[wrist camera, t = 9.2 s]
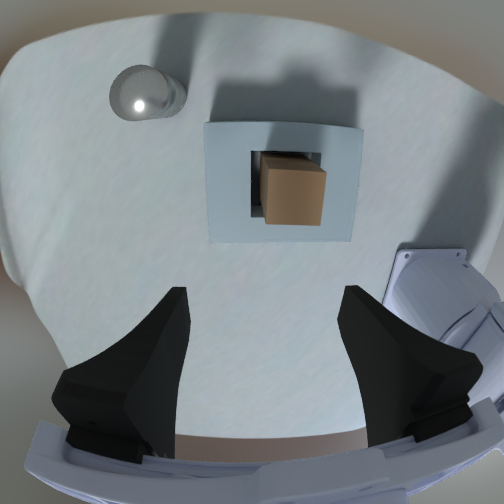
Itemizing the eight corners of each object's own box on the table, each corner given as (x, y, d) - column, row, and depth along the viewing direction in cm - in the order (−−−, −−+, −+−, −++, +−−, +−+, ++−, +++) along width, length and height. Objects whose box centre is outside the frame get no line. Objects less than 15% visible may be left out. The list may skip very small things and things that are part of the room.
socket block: (350, 126, 18) (363, 129, 16) (340, 227, 22) (350, 241, 20) (208, 121, 18) (203, 123, 16) (212, 228, 22) (209, 242, 19)
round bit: (185, 74, 16) (163, 59, 11) (187, 115, 17) (166, 116, 12) (144, 81, 16) (108, 71, 11) (146, 120, 17) (111, 125, 12)
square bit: (302, 154, 19) (327, 172, 14) (299, 194, 21) (320, 225, 15) (260, 152, 19) (269, 168, 14) (258, 192, 20) (265, 224, 15)
